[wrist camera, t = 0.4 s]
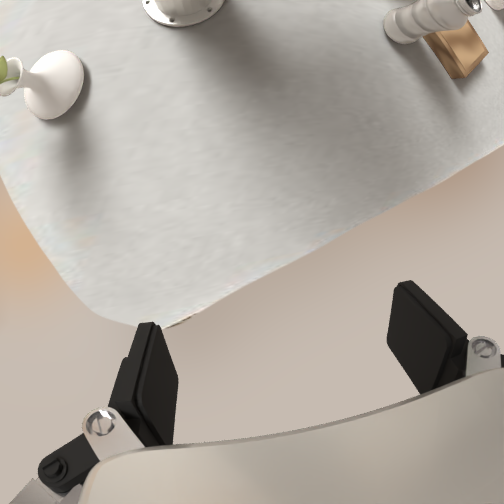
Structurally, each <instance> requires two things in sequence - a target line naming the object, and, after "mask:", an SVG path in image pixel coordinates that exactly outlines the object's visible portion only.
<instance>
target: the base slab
mask: <svg viewBox="0 0 504 504" xmlns="http://www.w3.org/2000/svg"><path fill="white" fill-rule="evenodd" d="M423 38H424V39H425V41H426V42H427V43H428V45H429V46H430V47H431V49H432V50H433V52H434V53H435V54H436V56H437V57H438V59H439V60H440V62H441V63H442V65H443V66H444V68H445V69H446V71H447V72H448V74H449V75H450V77H451V79H457V78H466V77H467V76H468V75H469V74H470V72H471V71H472V70H473V69H474V68H475V67H476V66H477V65H478V64H479V63H480V62H481V61H482V59H483V58H484V57H485V56H486V55H487V54H488V53H489V52H488V50H487V49H486V47H485V45H484V44H483V42H482V40H481V39H480V37H479V36H478V34H477V33H476V31H475V29H474V28H473V26H472V25H471V23H470V22H469V20H468V19H467V22H466V24H465V25H464V26H463V27H462V28H460V29H458V30H450V31H438V32H433V33H429V34H427V35H425V36H423Z"/></svg>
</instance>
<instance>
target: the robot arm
mask: <svg viewBox="0 0 504 504" xmlns="http://www.w3.org/2000/svg"><path fill="white" fill-rule="evenodd" d="M142 3H143V6H144V9H145V11H146V12H147V14H148V15H149V16H150V17H151V18H152V19H153V20H155V21H156V22H158V23H160V24H163V25H167V26H173V27H183V26H190V25H194V24H197V23H200V22H202V21H204V20H206V19H208V18H209V17H211V16H212V15H214V14H215V13H216V12H217V11H218V10H219V9H220V7H221V6H222V4H223V3H224V0H142ZM148 3H150V4H148ZM147 4H148V5H147ZM208 11H211V12H208ZM172 21H174V22H173V23H171V22H172ZM467 335H468V334H467V333H466V332H465V331H464V330H463V329H462V328H461V327H460V326H459V325H458V324H457V323H456V322H455V321H454V320H453V319H452V318H451V317H450V316H449V315H448V314H447V313H446V312H445V311H444V310H443V309H442V308H441V307H440V306H438V304H436V302H434V301H433V300H432V299H431V298H430V297H429V296H428V295H427V294H426V293H425V292H424V291H423V290H422V289H421V288H420V287H419V286H418V285H416V284H415V283H414V282H413V281H411V280H409V281H405V282H400V283H398V285H397V287H395V289H394V294H393V301H392V308H391V315H390V321H389V328H388V333H387V344H388V346H389V348H390V349H391V351H392V352H393V354H394V355H395V357H396V358H397V360H398V361H399V363H400V364H401V366H402V367H403V369H404V370H405V372H406V373H407V375H408V376H409V378H410V379H411V381H412V382H413V384H414V385H415V387H416V388H417V390H418V392H419V393H420V395H418V396H416V397H413V398H410V399H407V400H404V401H401V402H398V403H396V404H393V405H390V406H387V407H383V408H380V409H377V410H374V411H370V412H367V413H364V414H360V415H357V416H353V417H350V418H346V419H342V420H338V421H334V422H330V423H326V424H321V425H317V426H312V427H308V428H303V429H298V430H293V431H288V432H282V433H277V434H271V435H264V436H258V437H250V438H242V439H234V440H224V441H215V442H204V443H192V444H176V445H173V434H174V422H175V411H176V401H177V391H178V375H177V372H176V370H175V367H174V364H173V362H172V359H171V356H170V353H169V350H168V347H167V345H166V342H165V339H164V336H163V333H162V330H161V327H160V325H155V323H154V322H147V323H140V324H139V325H138V328H137V331H136V334H135V337H134V340H133V343H132V346H131V349H130V352H129V355H128V357H125V358H124V359H123V360H122V363H121V366H120V369H119V372H118V375H117V378H116V381H115V385H114V388H113V391H112V394H111V398H110V401H109V404H108V407H100V408H97V409H94V410H92V411H91V412H89V413H88V414H87V415H86V417H85V418H84V420H83V423H82V430H83V434H81V435H80V436H78V437H77V438H75V439H73V440H72V441H70V442H69V443H67V444H65V445H64V446H62V447H61V448H59V449H57V450H56V451H54V452H53V453H51V454H50V455H48V456H46V457H45V458H44V459H43V460H42V461H41V463H40V464H39V467H38V476H39V477H38V478H37V479H36V480H34V479H32V480H31V481H30V482H29V483H28V484H27V485H26V486H25V487H24V488H23V489H22V491H20V493H19V494H18V495H17V496H16V497H15V498H14V499H13V500H12V501H11V502H10V503H9V504H504V355H502V354H500V348H499V346H498V344H497V343H496V342H495V341H494V340H492V339H490V338H488V337H484V336H478V337H474V338H472V339H471V340H470V341H469V340H468V339H467Z"/></svg>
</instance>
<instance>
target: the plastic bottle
mask: <svg viewBox="0 0 504 504" xmlns="http://www.w3.org/2000/svg"><path fill="white" fill-rule="evenodd" d="M481 11H482V4H481V1H480V0H418V1H416V2H414V3H413V4H411V5H408V6H405V7H401V8H396V9H393V10H391V11H389V12H388V13H387V14H386V15H385V17H384V20H383V26H384V30H385V32H386V33H387V35H388V36H389V37H390V38H391V39H392V40H394V41H395V42H397V43H400V44H410V43H413V42H415V41H417V40H418V39H420V38H421V37H423V36H425V35H427V34H429V33H433V32H438V31H450V30H458V29H460V28H462V27H463V26H464V25H465V24H466V22H467V19H468V16H473V15H475V14H478V13H480V12H481Z"/></svg>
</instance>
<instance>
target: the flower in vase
mask: <svg viewBox="0 0 504 504" xmlns="http://www.w3.org/2000/svg"><path fill="white" fill-rule="evenodd" d="M83 80H84V70H83V65H82V63H81V61H80V59H79V58H78V56H77V55H75V54H74V53H73V52H71V51H67V50H58V51H54V52H51V53H49V54H47V55H45V56H43V57H42V58H41V59H40V60H39V61H37V62H36V64H35V65H34V66H33V68H32V69H31V71H30V72H29V71H27V70H25V69H24V68H23V64H22V62H21V61H20V60H19V59H18V58H10V59H8V60H6V59H5V58H4V56H1V58H0V96H8V95H10V94H11V93H13V92H14V91H15V90H16V89H17V88H23V87H24V98H25V103H26V105H27V107H28V109H29V110H30V112H31V113H32V114H34V115H35V116H36V117H38V118H41V119H53V118H56V117H59V116H60V115H62V114H64V113H65V112H66V111H67V110H68V109H70V107H71V106H72V105H73V104H74V102H75V101H76V99H77V98H78V96H79V94H80V91H81V89H82V85H83Z"/></svg>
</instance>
